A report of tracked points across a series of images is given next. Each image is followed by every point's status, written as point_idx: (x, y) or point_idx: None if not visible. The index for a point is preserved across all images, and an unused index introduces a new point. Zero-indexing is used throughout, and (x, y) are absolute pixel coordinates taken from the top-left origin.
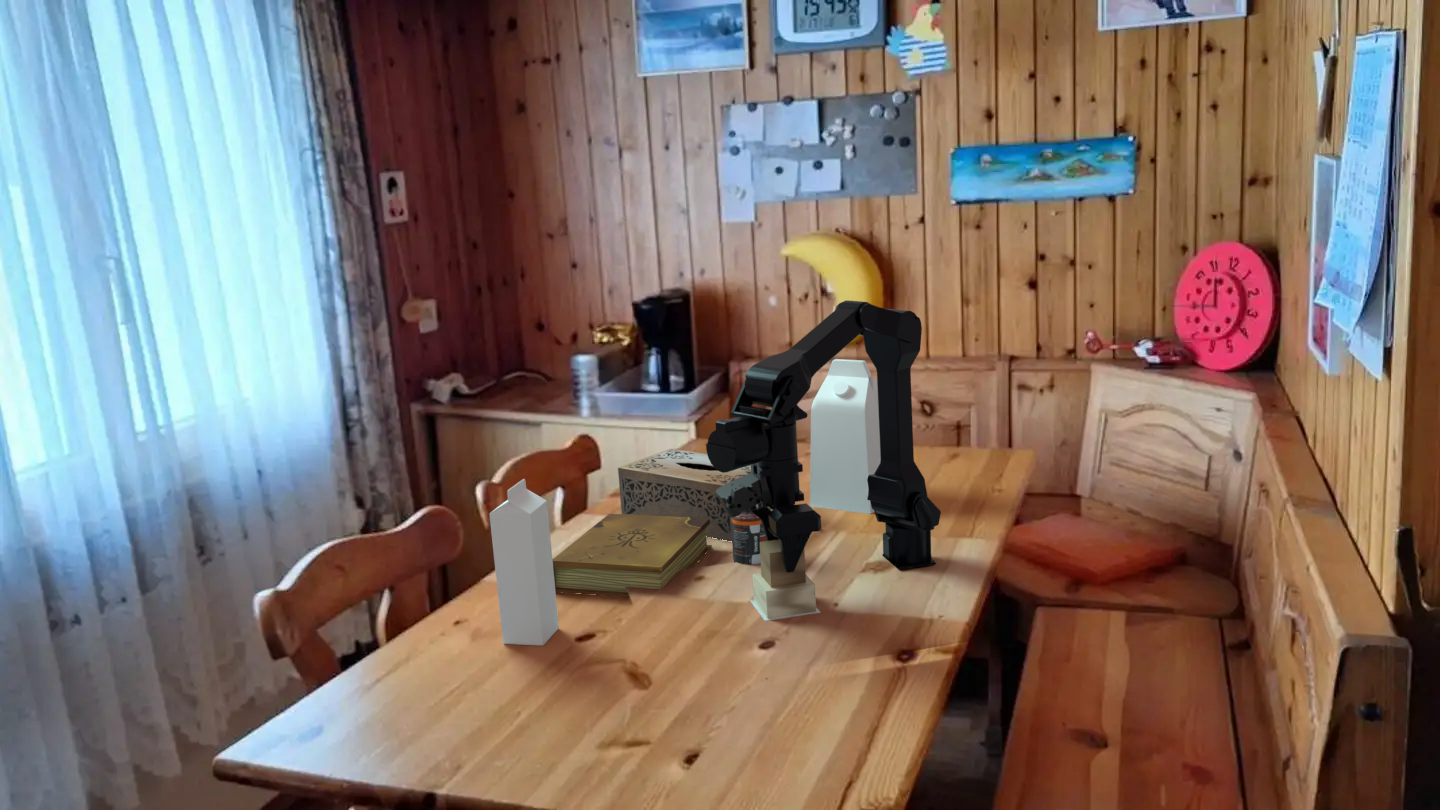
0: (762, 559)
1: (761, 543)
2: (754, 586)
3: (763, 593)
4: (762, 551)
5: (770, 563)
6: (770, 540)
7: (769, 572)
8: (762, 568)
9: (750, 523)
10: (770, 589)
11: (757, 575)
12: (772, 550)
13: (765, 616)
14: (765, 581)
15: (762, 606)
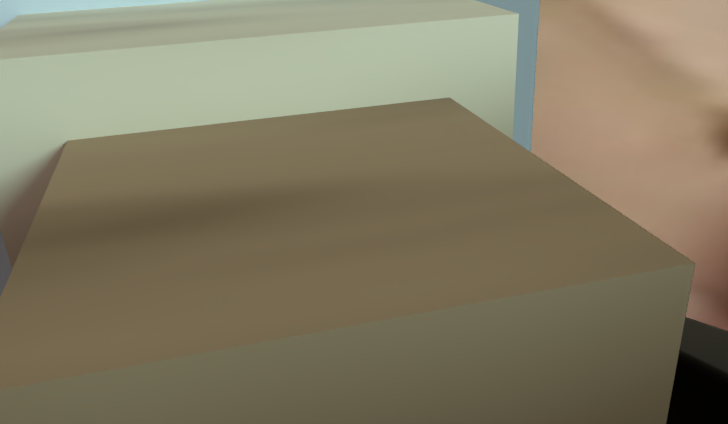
0: (450, 177)
1: (611, 288)
2: (425, 3)
3: (90, 40)
4: (479, 235)
5: (9, 285)
6: (721, 408)
7: (94, 197)
8: (429, 132)
9: None
10: (14, 124)
11: (470, 59)
12: None
13: (76, 8)
14: (275, 110)
15: (166, 10)
